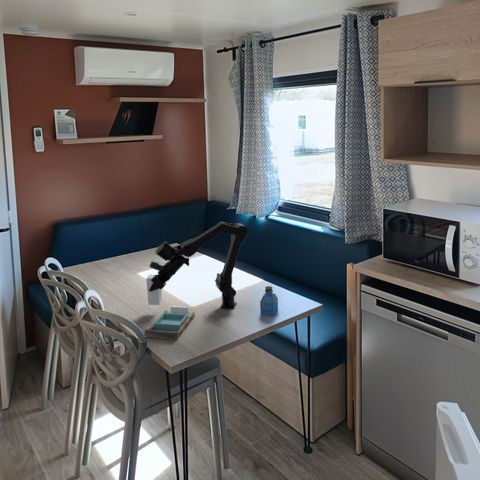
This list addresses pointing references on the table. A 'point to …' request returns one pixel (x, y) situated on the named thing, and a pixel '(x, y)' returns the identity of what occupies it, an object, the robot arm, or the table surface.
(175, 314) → the tray
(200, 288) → the table surface
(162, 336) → the dock
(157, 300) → the light grey block
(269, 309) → the perfume bottle
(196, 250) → the robot arm
